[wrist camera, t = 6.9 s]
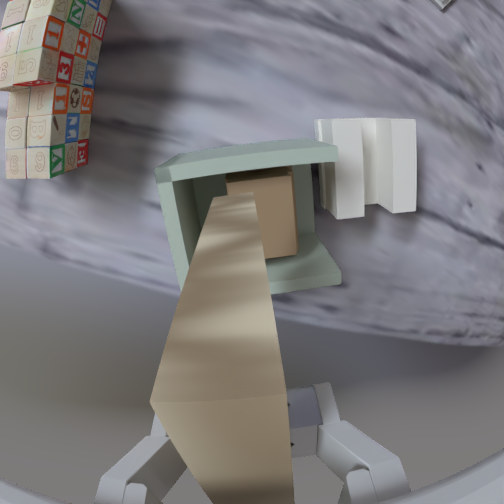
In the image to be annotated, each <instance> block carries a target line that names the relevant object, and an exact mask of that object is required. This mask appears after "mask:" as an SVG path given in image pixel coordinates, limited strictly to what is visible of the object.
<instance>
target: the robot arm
mask: <svg viewBox="0 0 504 504" xmlns="http://www.w3.org/2000/svg"><path fill="white" fill-rule="evenodd" d="M286 393H287V404H288V417H289V430H290V443H291V457H292V458H295V457H302V456H309V455H317V457H318V458H319V459H320V460H322V462H323V463H324V464H325V465H326V466H327V467H328V468H329V469H331V470H332V471H333V472H334V473H335V474H336V475H337V476H338V477H339V478H340V479H341V480H342V481H343V482H344V485H343V488H342V491H341V495H340V498H339V501H338V504H504V448H503V449H502V450H500V451H498V452H496V453H495V454H493V455H491V456H489V457H487V458H486V459H484V460H482V461H480V462H478V463H477V464H474V465H472V466H470V467H468V468H466V469H464V470H462V471H460V472H458V473H456V474H454V475H452V476H449V477H447V478H445V479H443V480H440V481H438V482H436V483H433V484H431V485H428V486H425V487H423V488H420V489H418V490H415V491H412V492H411V489H410V487H409V484H408V481H407V478H406V475H405V473H404V470H403V467H402V464H401V462H400V459H399V457H397V456H396V455H394V454H393V453H391V452H390V451H388V450H387V449H385V448H384V447H382V446H381V445H380V444H378V443H377V442H375V441H374V440H373V439H371V438H370V437H368V436H367V435H365V434H364V433H363V432H361V431H360V430H359V429H357V428H356V427H354V426H353V425H351V424H350V423H349V422H347V421H346V420H344V421H341V419H340V415H339V412H338V408H337V405H336V401H335V398H334V395H333V392H332V388H331V385H330V383H323V384H316V385H309V386H303V387H297V388H290V389H286ZM186 468H187V465H186V464H185V462H184V460H183V459H182V457H181V456H180V454H179V452H178V451H177V449H176V448H175V446H174V444H173V443H172V441H171V439H170V438H169V436H168V434H167V433H166V431H165V429H164V427H163V426H162V424H161V422H160V420H159V419H158V417H157V415H156V413H155V418H154V422H153V426H152V430H151V435H150V436H146V437H145V438H144V439H143V440H141V441H140V442H139V443H138V444H137V445H136V446H135V447H134V448H133V449H132V450H131V451H130V452H129V453H128V454H126V455H125V456H124V457H123V458H122V459H121V460H120V461H119V462H118V463H116V464H115V465H114V466H113V467H112V468H111V469H110V470H109V471H107V472H106V473H105V474H104V475H103V476H102V477H101V480H100V483H99V487H98V491H97V495H96V498H95V502H94V504H163V503H162V502H161V500H162V499H163V498H164V497H165V495H166V494H167V493H168V491H169V490H170V489H171V488H172V486H173V485H174V484H175V483H176V481H177V480H178V479H179V477H180V476H181V475H182V474H183V472H184V471H185V470H186ZM0 504H72V503H68V502H65V501H62V500H58V499H55V498H52V497H49V496H46V495H44V494H41V493H38V492H35V491H32V490H30V489H28V488H25V487H22V486H20V485H18V484H15V483H13V482H11V481H8V480H6V479H4V478H2V477H0Z"/></svg>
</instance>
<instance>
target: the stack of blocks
mask: <svg viewBox="0 0 504 504" xmlns="http://www.w3.org/2000/svg"><path fill="white" fill-rule="evenodd" d="M111 2H112V0H10V2H8V4H7V8H6V11H5V15H4V18H3V22H2V27H1V29H2V30H1V32H0V91H9V99H8V111H7V120H6V137H5V149H6V179H27V178H34V179H40V178H41V179H50V178H53V177H56V176H58V175H61V174H63V173H64V172H67V171H70V170H73V169H76V168H77V167H80V166H84V165H86V164H87V163H88V138H89V134H90V122H91V112H92V103H93V95H94V84H95V77H96V70H97V63H98V58H99V52H100V47H101V41H102V39H103V35H104V30H105V26H106V21H107V17H108V14H109V10H110V6H111Z"/></svg>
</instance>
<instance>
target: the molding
mask: <svg viewBox="0 0 504 504" xmlns="http://www.w3.org/2000/svg"><path fill="white" fill-rule="evenodd" d="M430 1H432V2H433V3H434V4H435V5H436V6H437V7H438V8H439V10H441V9H443V8H444V7H445V6H446V5H447V4H448V3H449V2H450V1H451V0H430Z"/></svg>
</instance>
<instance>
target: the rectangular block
mask: <svg viewBox="0 0 504 504" xmlns="http://www.w3.org/2000/svg"><path fill="white" fill-rule="evenodd" d="M150 404H151V406H152V408H153V409H154V411H155V413H156V415H157V417H158V419H159V420H160V422H161V424H162V426H163V427H164V429H165V431H166V433H167V434H168V436H169V438H170V439H171V441H172V443H173V444H174V446H175V448H176V449H177V451H178V452H179V454H180V456H181V457H182V459H183V460H184V462H185V464H186V465H187V467H188V468H189V470H190V471H191V473H192V474H193V476H194V477H195V479H196V480H197V481H198V483H199V484H200V486H201V487H202V489H203V490H204V492H205V493H206V494H207V496H208V497H209V498H210V500H211V501H212V503H213V504H295V503H294V487H293V472H292V457H291V443H290V430H289V417H288V404H287V393H286V386H285V380H284V374H283V367H282V361H281V355H280V349H279V342H278V336H277V330H276V324H275V318H274V311H273V305H272V299H271V293H270V287H269V281H268V275H267V269H266V263H265V257H264V251H263V246H262V240H261V234H260V228H259V222H258V216H257V211H256V205H255V199H254V193H253V192H249V193H241V194H234V195H227V196H220V197H213V200H212V203H211V206H210V208H209V211H208V214H207V217H206V220H205V223H204V225H203V228H202V231H201V234H200V237H199V240H198V243H197V246H196V249H195V252H194V255H193V258H192V261H191V264H190V267H189V270H188V273H187V276H186V279H185V282H184V286H183V289H182V292H181V295H180V298H179V301H178V305H177V308H176V311H175V314H174V318H173V321H172V325H171V328H170V331H169V334H168V338H167V341H166V345H165V348H164V352H163V356H162V359H161V362H160V366H159V370H158V373H157V377H156V380H155V384H154V388H153V391H152V395H151V399H150Z"/></svg>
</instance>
